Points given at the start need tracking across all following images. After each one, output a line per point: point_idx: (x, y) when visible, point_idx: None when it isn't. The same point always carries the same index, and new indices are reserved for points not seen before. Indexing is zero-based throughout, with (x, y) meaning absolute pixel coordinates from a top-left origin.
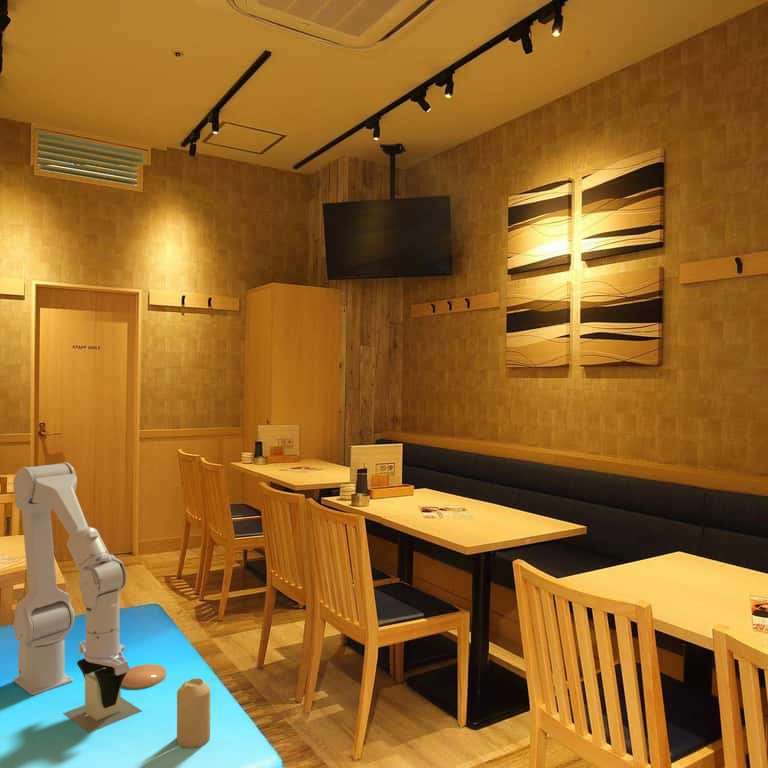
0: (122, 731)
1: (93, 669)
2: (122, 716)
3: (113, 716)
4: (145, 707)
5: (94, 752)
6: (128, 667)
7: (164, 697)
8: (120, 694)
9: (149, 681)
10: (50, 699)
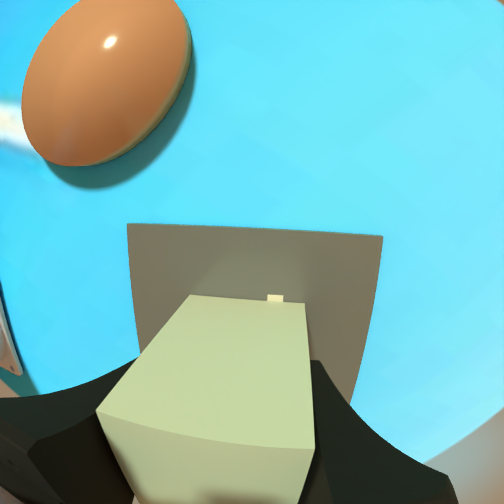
0: (426, 361)
1: (115, 483)
2: (350, 320)
3: (317, 341)
4: (356, 198)
5: (426, 441)
6: (451, 493)
7: (338, 81)
8: (307, 345)
9: (168, 64)
10: (51, 365)
